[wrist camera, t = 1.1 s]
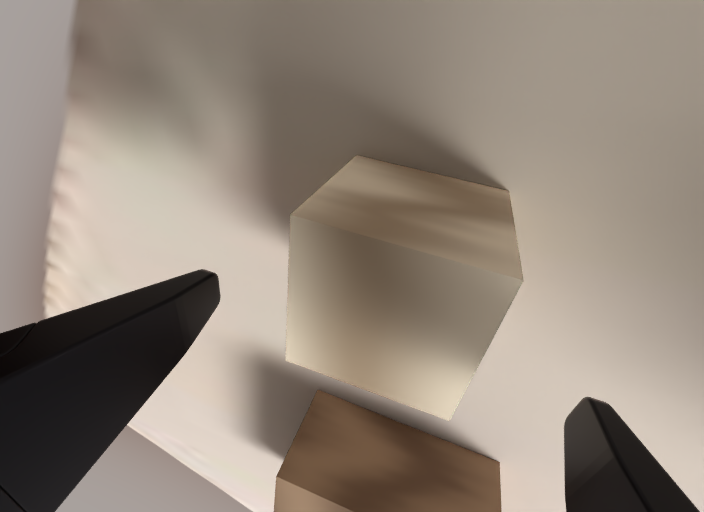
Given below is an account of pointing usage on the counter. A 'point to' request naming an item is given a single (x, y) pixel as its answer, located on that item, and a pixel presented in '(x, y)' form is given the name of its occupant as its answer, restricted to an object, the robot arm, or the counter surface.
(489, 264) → the maple cube
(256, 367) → the counter surface
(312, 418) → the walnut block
